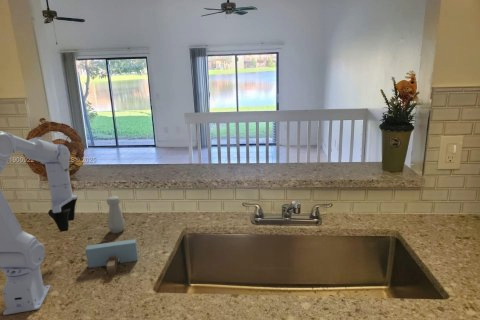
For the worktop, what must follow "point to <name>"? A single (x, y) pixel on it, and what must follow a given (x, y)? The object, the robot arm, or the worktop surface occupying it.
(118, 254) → the slate-blue slotted board
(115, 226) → the salt shaker
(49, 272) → the worktop surface
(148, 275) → the worktop surface
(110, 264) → the walnut slotted board
